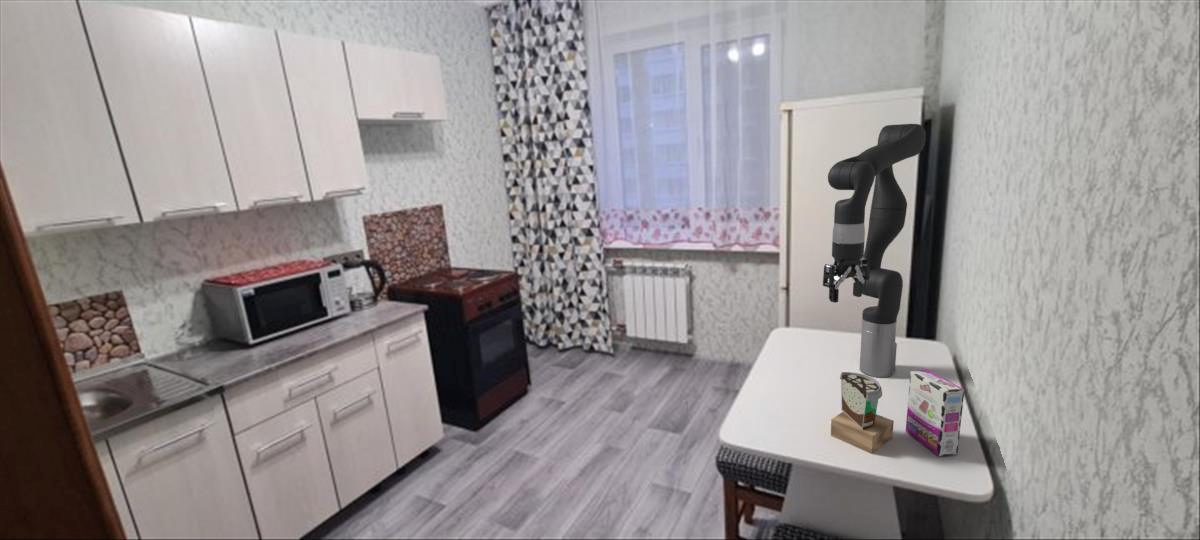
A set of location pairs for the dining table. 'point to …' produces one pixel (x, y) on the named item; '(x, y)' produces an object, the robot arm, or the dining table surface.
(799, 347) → the dining table surface
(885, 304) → the robot arm
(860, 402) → the food container
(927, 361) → the dining table surface
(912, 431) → the candy bar box
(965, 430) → the dining table surface
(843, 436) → the oak block
